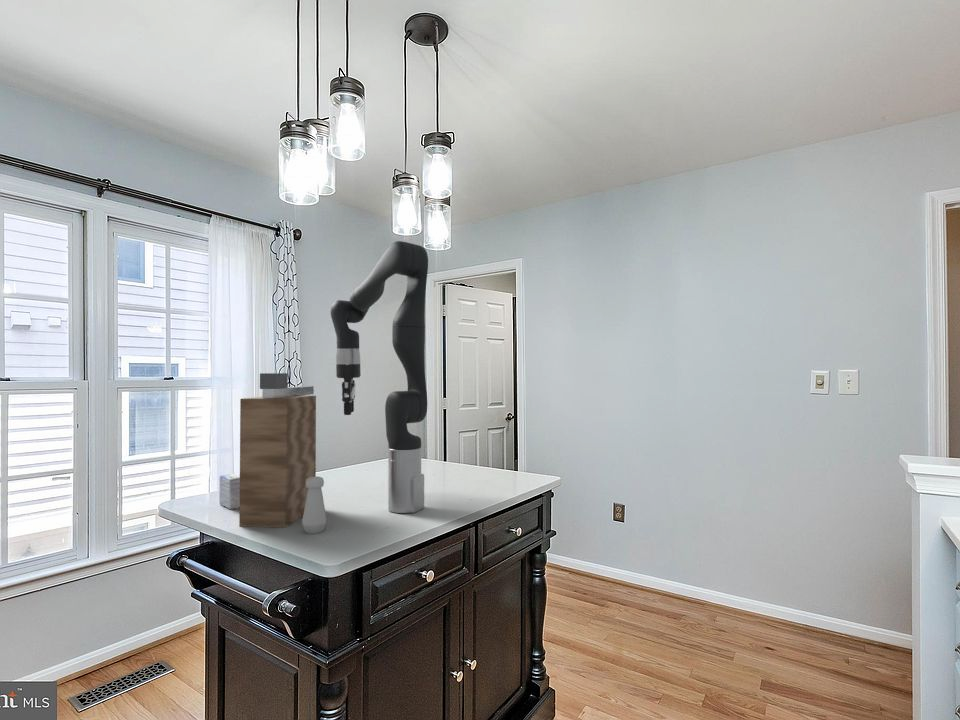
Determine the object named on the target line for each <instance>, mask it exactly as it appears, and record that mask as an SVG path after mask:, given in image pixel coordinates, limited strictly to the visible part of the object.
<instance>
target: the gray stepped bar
mask: <svg viewBox="0 0 960 720" xmlns="http://www.w3.org/2000/svg"><path fill="white" fill-rule="evenodd" d="M288 380H289V373H287V372H284V373H283V372H282V373H281V372H278V373H277V372H276V373H274V372H272V373H268V372H266V373H265V372H264V373H263V372H262V373H261V372H260V373H259V390H262V397H263V398H282V397H291V396H312V395H314V392H315V391H314V388H315V387H314V385H312V386H311V385H309V386H306V385H304V386H302V385H301V386H290V387H289V386H288V385H289V382H288Z"/></svg>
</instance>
